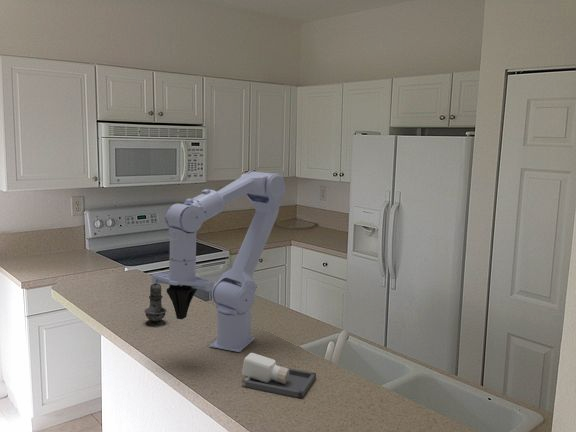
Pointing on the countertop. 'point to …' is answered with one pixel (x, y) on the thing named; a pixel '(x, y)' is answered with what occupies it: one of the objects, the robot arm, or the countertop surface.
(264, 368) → the pepper shaker
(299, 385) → the tray
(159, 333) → the countertop surface
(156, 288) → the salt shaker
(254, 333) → the countertop surface
